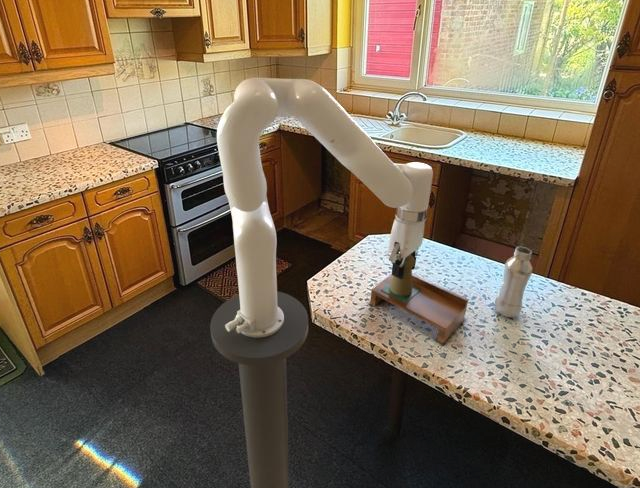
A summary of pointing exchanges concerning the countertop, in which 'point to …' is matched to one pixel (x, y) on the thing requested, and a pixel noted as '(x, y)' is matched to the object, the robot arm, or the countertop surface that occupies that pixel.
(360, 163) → the robot arm
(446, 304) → the wooden shelf
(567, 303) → the countertop surface
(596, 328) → the countertop surface
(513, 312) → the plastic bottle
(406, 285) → the cork
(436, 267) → the countertop surface
